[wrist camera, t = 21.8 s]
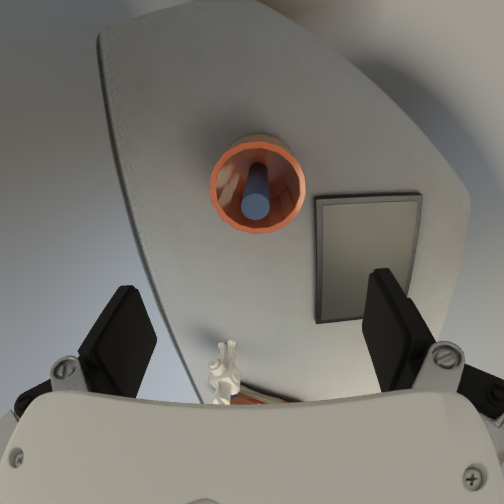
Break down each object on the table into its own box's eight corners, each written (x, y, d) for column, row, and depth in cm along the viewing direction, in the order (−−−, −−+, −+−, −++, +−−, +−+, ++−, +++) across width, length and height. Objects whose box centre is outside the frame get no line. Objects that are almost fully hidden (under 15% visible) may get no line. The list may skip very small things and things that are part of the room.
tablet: (314, 196, 35) (315, 199, 34) (419, 192, 34) (423, 195, 33) (315, 320, 45) (315, 324, 44) (401, 309, 43) (403, 313, 42)
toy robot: (229, 363, 50) (222, 418, 40) (208, 335, 47) (196, 392, 36) (248, 358, 49) (245, 414, 39) (229, 329, 46) (220, 388, 36)
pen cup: (218, 138, 32) (202, 148, 25) (292, 130, 32) (302, 138, 24) (227, 207, 37) (217, 237, 29) (297, 201, 36) (307, 229, 28)
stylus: (248, 163, 33) (239, 194, 22) (266, 161, 33) (268, 191, 22) (250, 181, 34) (242, 221, 23) (268, 179, 34) (271, 219, 23)
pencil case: (274, 421, 60) (274, 438, 56) (209, 387, 54) (206, 407, 50) (312, 404, 56) (314, 422, 52) (247, 366, 50) (245, 387, 46)
